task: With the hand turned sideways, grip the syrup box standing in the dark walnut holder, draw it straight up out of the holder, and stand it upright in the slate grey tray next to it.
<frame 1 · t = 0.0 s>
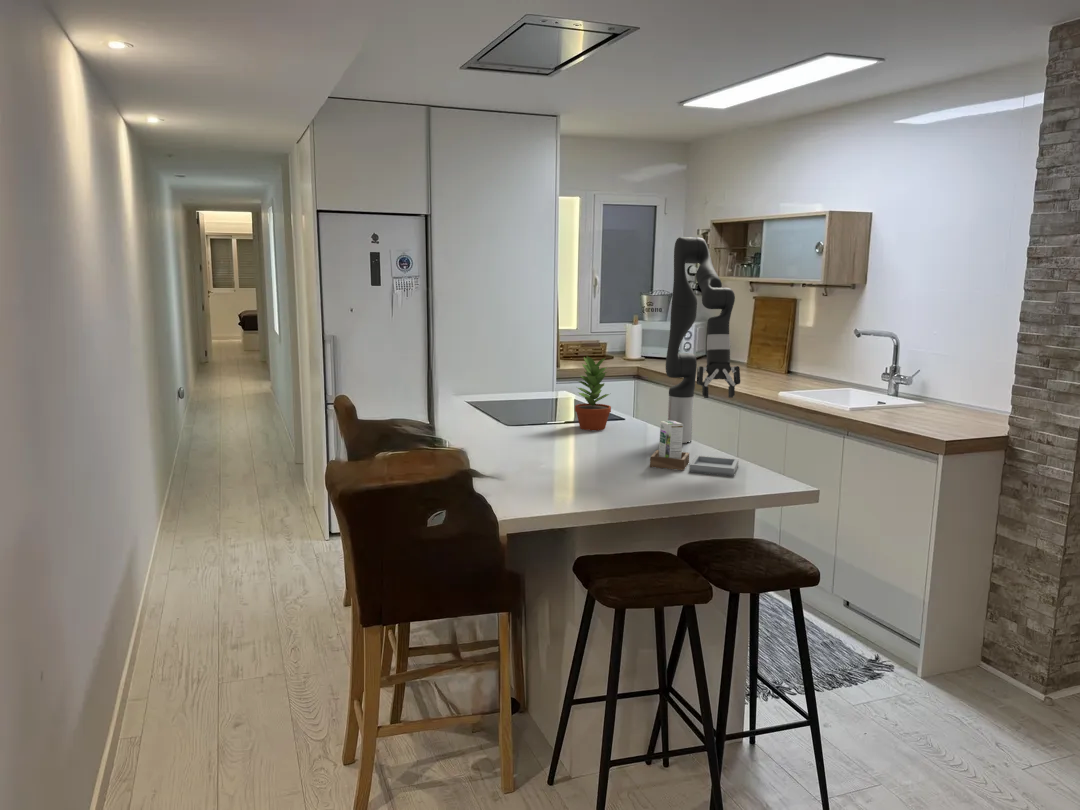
hand: (718, 397, 268), 22 cm above the worktop, tool pointing down, fingers open, 8 cm apart
walnut holder: (669, 465, 269), on the worktop
syrup box: (669, 465, 269), resting in walnut holder
potted plant: (592, 428, 329), on the worktop
slate tray: (714, 469, 264), on the worktop
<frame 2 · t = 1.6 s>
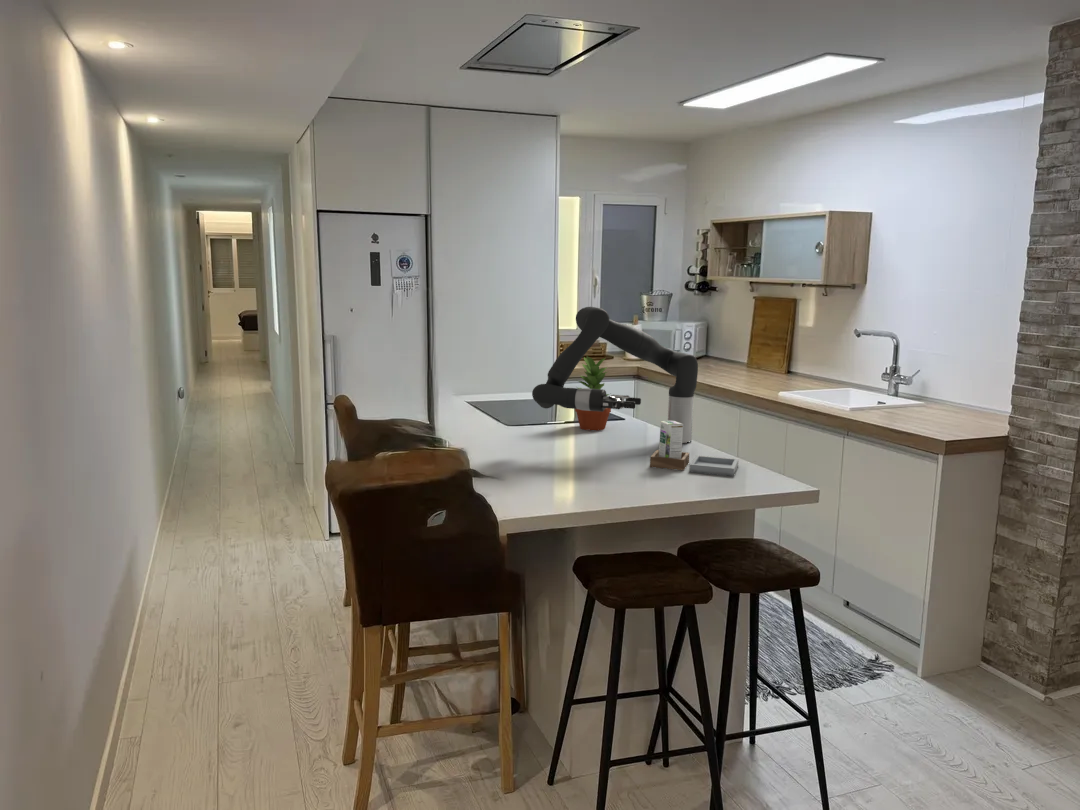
hand: (638, 403, 269), 20 cm above the worktop, tool horizontal, fingers open, 8 cm apart
nothing on the worktop moved.
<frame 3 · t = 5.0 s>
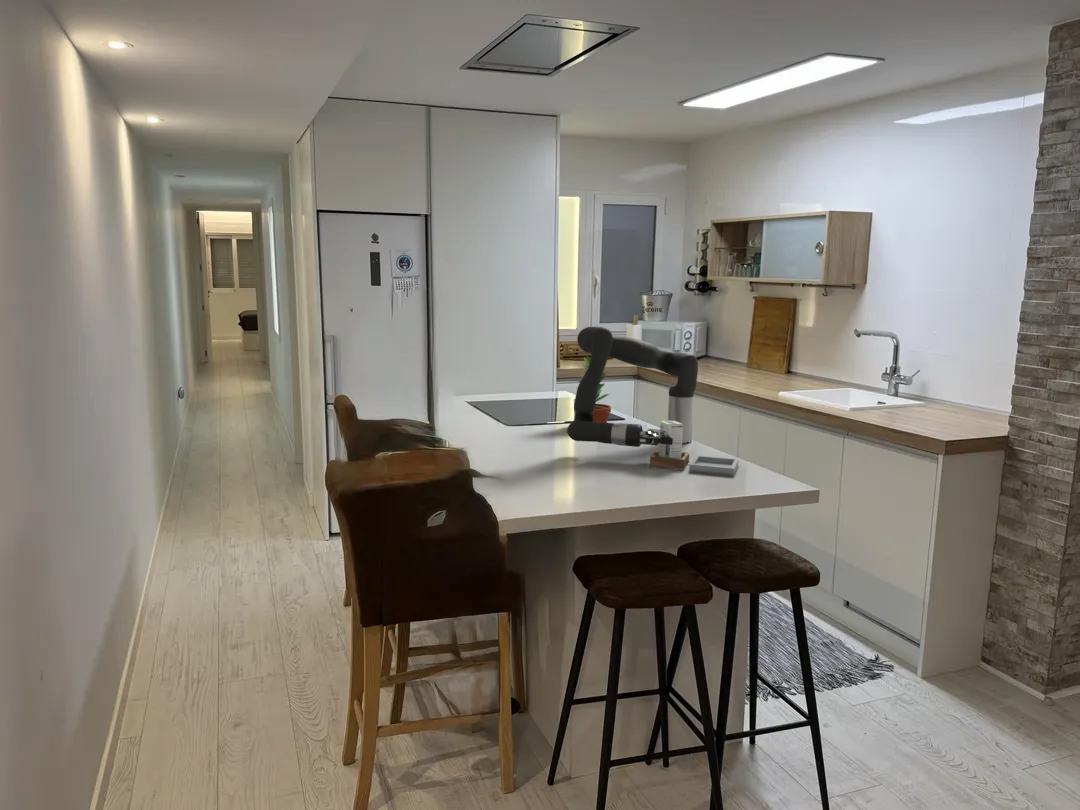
hand: (675, 438, 267), 9 cm above the worktop, tool horizontal, fingers open, 8 cm apart
nothing on the worktop moved.
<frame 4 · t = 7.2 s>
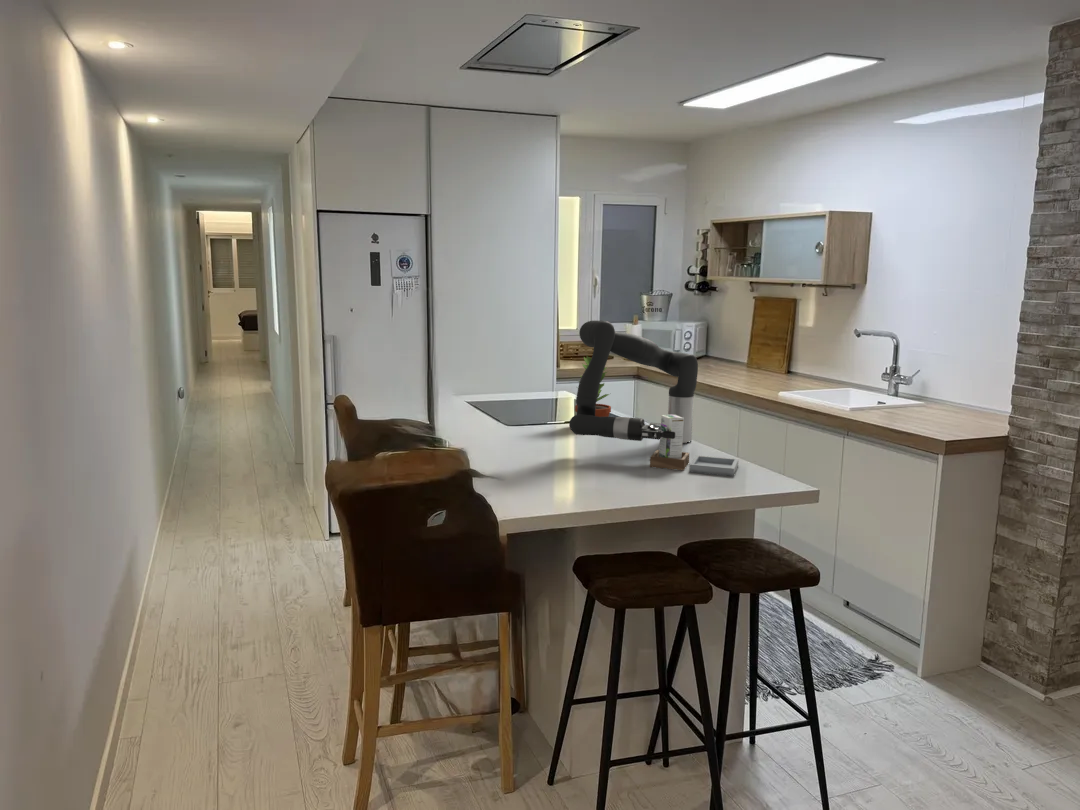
hand: (677, 432, 267), 11 cm above the worktop, tool horizontal, fingers closed on syrup box, 8 cm apart
syrup box: (670, 459, 269), point 2 cm above the worktop, touching gripper
everything else where it was.
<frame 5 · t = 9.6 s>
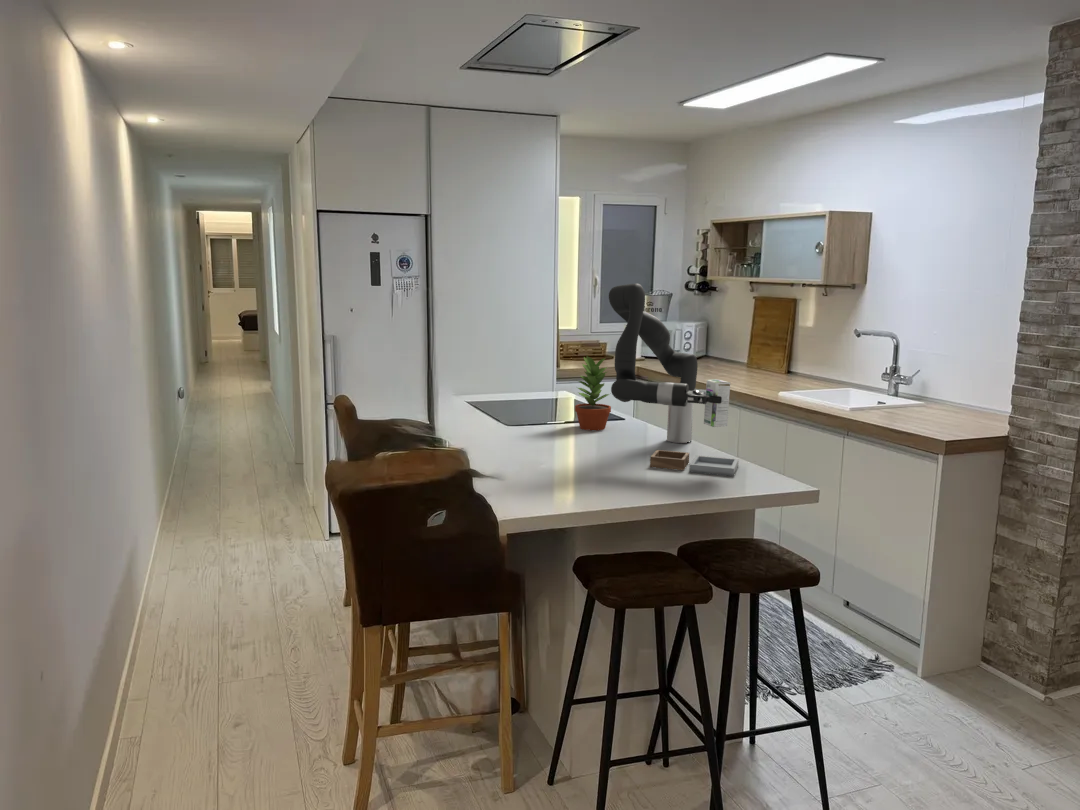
hand: (723, 397, 260), 24 cm above the worktop, tool horizontal, fingers closed on syrup box, 8 cm apart
syrup box: (715, 425, 262), point 14 cm above the worktop, touching gripper
everything else where it was.
when the fingers open (11 cm above the worktop, at t = 13.1 s): syrup box stays where it is, resting on slate tray.
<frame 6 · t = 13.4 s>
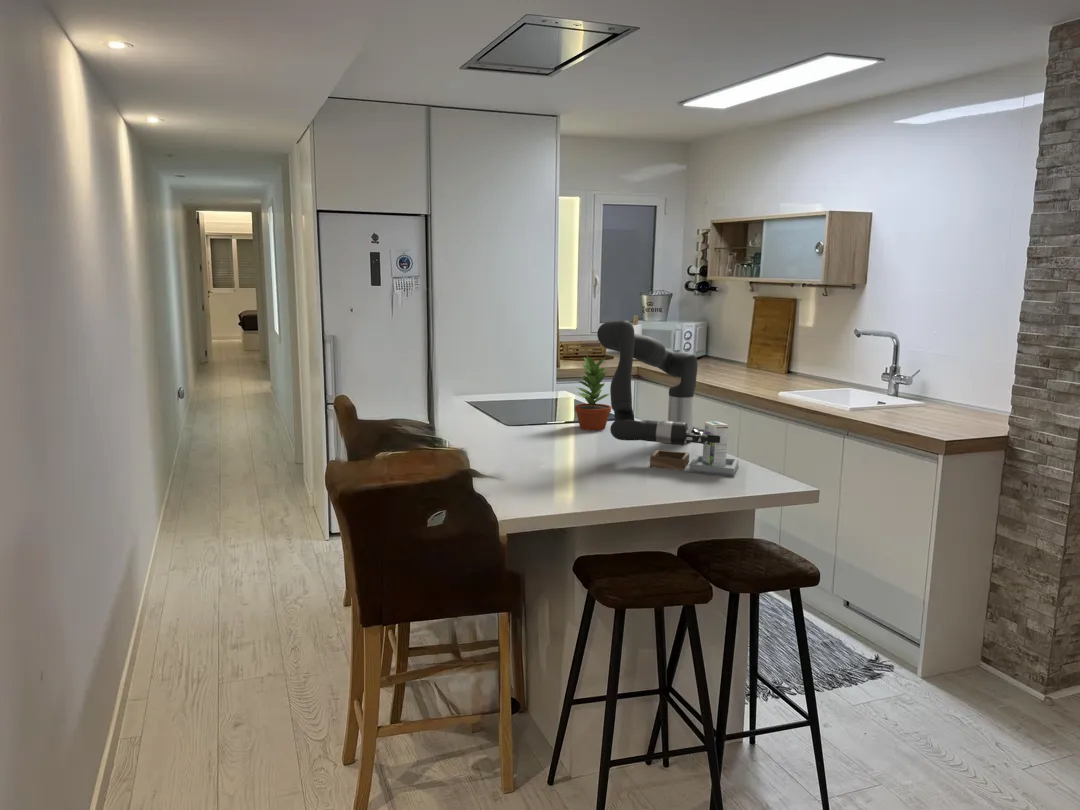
hand: (721, 436, 262), 11 cm above the worktop, tool horizontal, fingers open, 8 cm apart
syrup box: (713, 467, 264), point 1 cm above the worktop, touching gripper, slate tray
everything else where it was.
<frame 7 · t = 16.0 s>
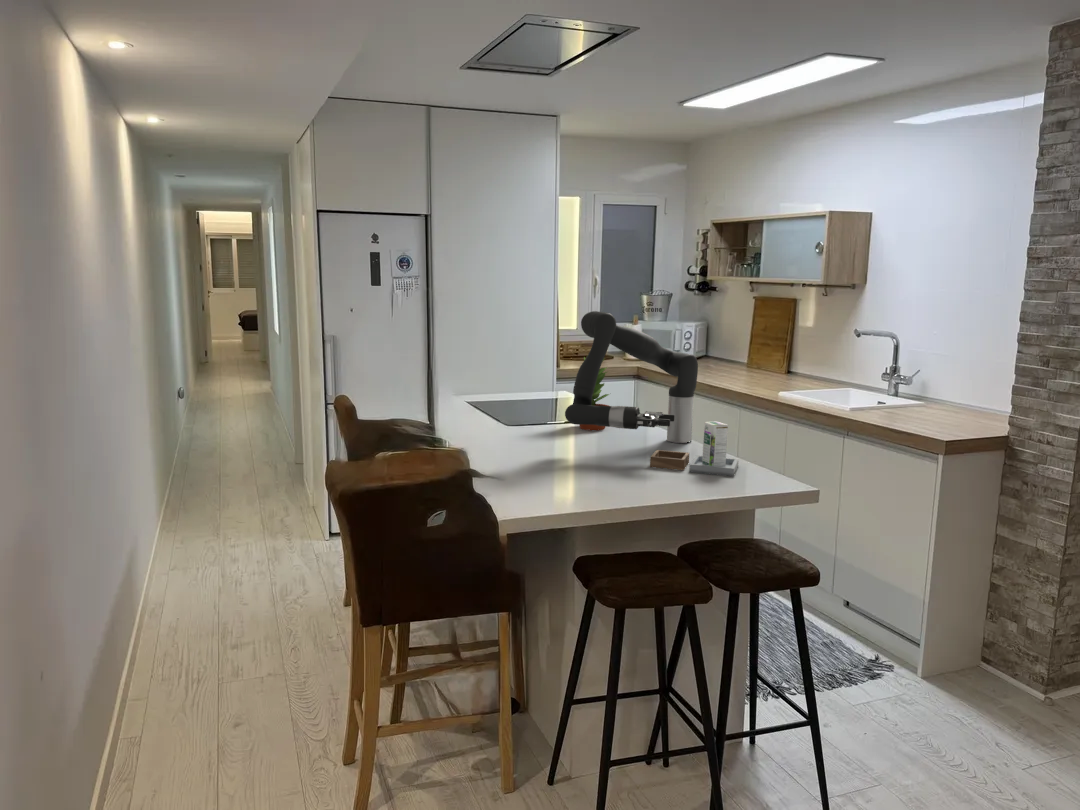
hand: (672, 420, 269), 15 cm above the worktop, tool horizontal, fingers open, 8 cm apart
syrup box: (713, 467, 264), point 1 cm above the worktop, touching slate tray
everything else where it was.
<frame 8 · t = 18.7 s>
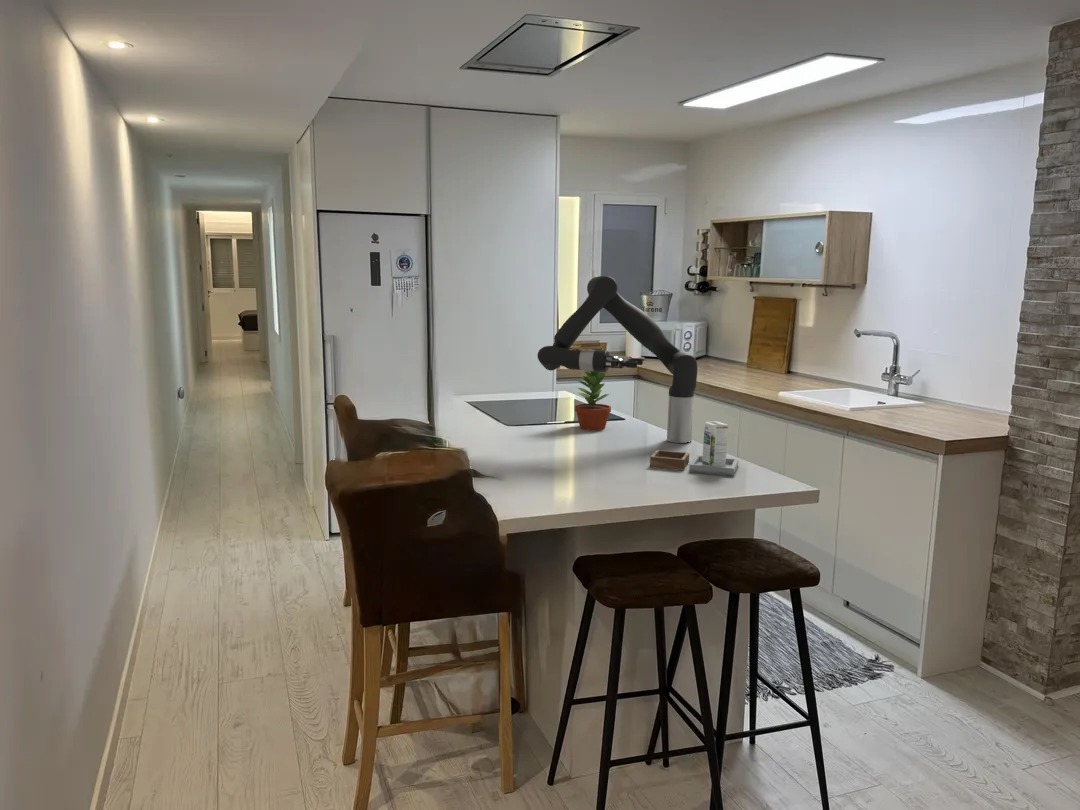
hand: (639, 363, 278), 32 cm above the worktop, tool horizontal, fingers open, 8 cm apart
nothing on the worktop moved.
at the end: syrup box inside the target area on the slate tray (0.2 cm from its centre), point 0.6 cm above the slate tray's base; syrup box tilted 0°; the gripper is holding nothing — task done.
